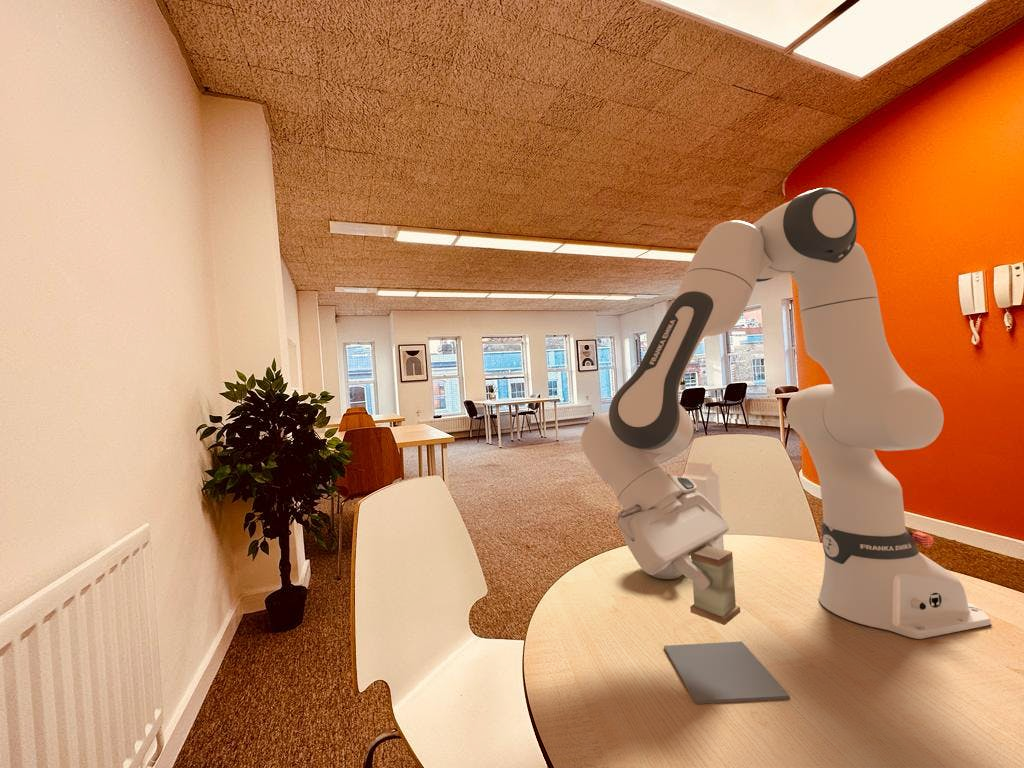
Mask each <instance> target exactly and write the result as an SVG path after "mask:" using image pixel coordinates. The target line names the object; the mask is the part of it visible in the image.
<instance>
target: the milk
mask: <svg viewBox="0 0 1024 768" xmlns="http://www.w3.org/2000/svg"><path fill="white" fill-rule="evenodd" d="M681 477H686V478H690V479H691V480H693V481H694V483H695V484H696V485H697V489H696V490H695V491H697V492H699V493H701V494H703V495H704V496H705V497H706V498H707V499H708V500H709V501H710V502H711V503H712V504H713V506H714V507H715V508H716V509H717V510H718V511H719V513H720V514H721V515H722V503H721V492H720V478H719V475H718V474H717V473H715V471H714V470H712V464H711V463H705V462H695V461H694V462H692V461H688V462H687V468H686V470H685V471H684V473H683V474H682V476H681ZM715 542H716V543H717V544H718V546H719V548H720V549H723V550H725V544H724V543H725V542H724V535H723V536H722V537H720V538H719V539H718V540H716V541H715ZM689 556H691V555H689Z"/></svg>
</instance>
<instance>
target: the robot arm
mask: <svg viewBox="0 0 1024 768" xmlns="http://www.w3.org/2000/svg"><path fill="white" fill-rule="evenodd" d="M857 219H858V218H857V213H856V209H855V206H854V204H853V202H852V201H851V200H850V198H849V197H848V196H847V195H845V194H844V193H843V192H842V191H840V190H838V189H835V188H833V187H819V188H816V189H813V190H808V191H805V192H803V193H801V194H799V195H797V196H796V197H794V198H793V199H791V200H790V201H787V202H785V203H783V204H781V205H779V206H777V207H775V208H773V209H771V210H770V211H768V212H767V213H765V214H764V215H763V216H762V217H760V218H759V219H758V220H756V221H754V222H753V223H749V222H746V221H742V220H729V221H728V220H727V221H724V222H721V223H718V224H716V225H714V227H712V228H711V229H710V230H709V232H707V234H706V236H705V237H704V238H703V239H702V241H701V243H700V244H699V246H698V248H697V249H696V252H695V254H694V255H693V257H692V258H691V261H690V263H689V265H688V267H687V269H686V272H685V273H684V275H683V279H682V281H681V284H680V286H679V289H678V290H677V293H676V295H675V298H674V300H673V302H672V303H671V305H670V307H669V308H668V309H667V311H666V312H665V315H664V316H663V318H662V320H661V322H660V324H659V326H658V328H657V330H656V332H655V334H654V336H653V337H652V340H651V342H650V344H649V346H648V349H646V352H645V354H644V356H643V358H642V360H641V362H640V364H639V365H638V367H637V369H636V370H635V372H634V373H633V375H631V376H630V378H628V380H627V381H626V382H625V383H624V384H623V385H622V386H621V387H620V388H619V389H618V390H617V392H616V393H615V395H614V397H612V400H611V402H610V405H609V408H608V413H606V412H605V413H601V414H598V415H596V416H595V417H594V418H592V419H591V420H589V422H588V423H587V424H586V425H585V427H584V429H583V430H582V433H581V436H580V446H581V448H582V451H583V454H584V455H585V457H586V459H587V460H588V461H589V464H590V465H591V466H592V468H593V469H594V471H595V473H596V474H597V475H598V476H599V478H600V479H601V480H602V482H604V483H605V484H607V485H608V486H609V487H610V488H611V490H612V492H613V493H614V496H615V499H616V500H617V502H618V503H619V505H621V507H622V508H623V510H620V511H618V512H617V515H616V525H617V527H618V529H619V530H620V531H621V534H622V537H623V540H624V542H625V543H626V546H627V547H628V549H629V551H630V552H631V554H632V556H633V557H634V559H635V561H636V562H637V564H638V566H639V567H640V568H641V570H642V571H644V572H645V573H646V574H648V575H650V576H651V575H654V574H656V573H658V572H660V571H661V570H663V569H665V568H667V567H669V566H671V565H672V564H673V565H674V566H675V567H676V569H677V570H678V571H679V572H680V573H682V576H685V577H687V578H688V579H690V580H691V581H692V582H693V581H694V583H695V584H696V585H697V587H698V588H699V589H700V590H704V589H705V588H707V587H708V586H710V585H711V584H712V583H713V579H712V578H711V577H710V576H709V574H708V573H707V572H706V570H704V571H703V572H702V571H701V570H700V569H699V568H697V567H696V566H695V565H694V564H692V562H691V561H692V559H691V558H690V557H689V555H691V552H693V551H695V550H696V549H698V548H700V547H702V546H704V545H707V546H711V547H715V548H719V546H718V544H717V543H716V542H715V541H716V540H718V539H719V538H720V537H722V536H723V537H724V536H725V534H727V533H728V532H729V530H730V528H729V525H728V522H727V520H726V518H725V517H724V516H723V515H722V513H721V514H720V513H719V511H718V510H717V509H716V508H715V507H714V506H713V504H712V503H711V502H710V501H709V500H708V499H707V498H706V497H705V496H704V495H703V494H701V493H699V492H697V491H695V490H696V489H697V485H696V484H695V483H694V481H693V480H691V479H690V478H686V477H682V476H678V475H675V474H671V473H666V472H665V471H664V469H662V467H661V466H660V465H661V464H663V463H665V462H666V461H668V460H670V459H672V458H674V457H675V456H677V455H679V454H680V453H682V452H684V451H685V450H686V449H687V448H688V447H689V445H690V444H691V442H692V440H693V438H694V434H695V426H694V422H693V419H692V417H691V416H690V414H689V413H688V411H687V410H686V409H685V407H683V405H681V404H680V399H679V398H680V397H679V393H680V392H679V390H680V386H681V382H682V380H683V378H684V376H685V374H686V372H687V370H688V367H689V365H690V364H691V361H692V360H693V358H694V355H695V354H696V351H697V349H698V346H699V345H700V343H701V341H702V340H703V339H704V338H705V337H707V336H708V337H712V336H714V337H715V336H717V335H718V336H719V335H722V334H724V333H727V332H729V331H731V330H732V329H733V328H734V327H735V326H736V325H737V323H739V320H740V319H741V317H742V316H743V314H744V313H745V310H746V308H747V306H748V303H749V302H750V299H751V296H752V294H753V291H754V288H755V286H756V283H758V282H761V283H762V282H765V281H769V280H771V279H774V278H778V277H780V276H784V275H787V274H789V275H790V276H791V277H792V279H793V280H794V281H795V283H796V285H797V292H798V293H797V294H798V306H799V313H800V320H801V328H802V334H803V335H802V336H803V341H804V348H805V352H806V354H807V355H808V357H809V358H810V359H812V360H813V361H815V362H816V363H818V364H819V365H820V367H822V368H823V370H824V371H825V373H826V375H827V376H828V378H829V381H830V382H831V383H828V384H827V383H824V384H818V385H814V386H810V387H807V388H804V389H801V390H799V391H797V392H795V393H794V394H793V395H792V396H791V397H790V399H789V400H788V402H787V405H786V408H785V409H786V410H785V414H786V415H785V416H786V419H787V422H788V425H789V426H790V427H791V428H792V430H794V431H795V433H796V434H797V435H798V436H800V438H801V440H802V441H803V443H804V444H805V446H806V448H807V451H808V454H809V455H810V457H811V460H812V463H813V465H814V468H815V471H816V473H817V477H818V482H819V486H820V496H821V504H822V505H821V507H822V515H823V516H822V517H823V520H822V521H821V523H820V526H821V542H822V548H823V552H824V566H823V567H824V569H823V576H822V577H823V578H822V584H821V587H820V588H821V589H820V591H819V595H818V601H819V602H820V604H821V605H822V606H823V607H824V608H825V609H827V611H830V612H832V613H833V614H835V615H836V616H839V617H841V618H844V619H846V620H848V621H851V622H854V623H857V624H861V625H864V626H868V627H872V628H876V629H881V630H887V631H890V632H894V633H896V634H899V635H902V636H905V637H908V638H911V639H918V640H922V639H926V638H932V637H937V636H941V635H946V634H947V635H948V634H951V633H956V632H961V631H967V630H971V629H976V628H982V627H985V626H989V625H992V622H991V618H990V616H989V615H988V614H987V613H986V612H984V610H982V609H980V608H979V607H978V606H976V605H974V604H973V603H971V602H969V601H968V599H967V598H968V597H967V593H966V591H965V588H964V585H963V584H962V582H961V580H960V579H959V577H957V576H956V575H955V574H953V573H952V572H951V571H949V570H947V569H946V568H945V567H943V566H941V565H940V564H938V563H936V562H935V561H933V560H932V559H930V557H928V556H926V555H925V554H923V553H921V552H920V551H919V548H918V547H917V545H916V544H919V545H921V546H923V547H925V548H930V547H932V546H933V545H934V541H935V540H934V537H932V535H930V534H927V533H923V532H921V531H914V532H913V531H912V530H910V529H907V528H906V522H905V521H906V520H905V507H904V497H903V495H904V494H903V487H902V486H901V483H900V481H899V480H898V478H896V477H895V476H894V474H893V473H891V472H890V471H889V470H887V469H886V467H885V466H884V465H883V464H882V462H881V461H880V460H879V458H878V455H877V454H876V452H875V450H877V451H882V452H883V451H885V452H895V451H908V450H909V451H910V450H920V449H923V448H925V447H927V446H929V445H931V444H932V443H933V442H934V441H936V439H937V438H938V437H939V436H940V434H941V432H942V430H943V427H944V421H945V416H944V411H943V408H942V405H941V404H940V402H939V400H938V399H937V397H936V396H935V395H933V394H932V393H931V392H930V391H929V390H927V389H925V388H923V387H921V386H920V385H918V384H917V383H916V382H915V381H913V380H912V379H911V378H910V377H909V376H908V375H907V374H906V371H904V370H903V368H902V367H901V366H900V365H899V363H898V361H897V359H896V358H895V357H894V355H893V353H892V350H891V348H890V347H889V343H888V341H887V337H886V333H885V328H884V322H883V318H882V311H881V307H880V300H879V295H878V288H877V283H876V280H875V279H876V278H875V276H874V272H873V269H872V267H871V264H870V261H869V259H868V256H867V253H866V251H865V249H864V248H863V246H861V245H860V244H859V243H857V242H856V240H857V232H858V231H857V228H858V220H857ZM719 549H720V548H719Z"/></svg>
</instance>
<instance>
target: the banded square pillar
mask: <svg viewBox="0 0 1024 768" xmlns="http://www.w3.org/2000/svg"><path fill="white" fill-rule="evenodd" d="M691 559H692V561H691V563H692V564H694V565H695V566H696V567H697V568H699V569H700V570H701V571H702V572H703V571H704V570H706V572H707V573H708V574H709V576H710V577H711V578H712V579H713V583H712V584H711V585H710V586H708V587H707V588H705V589H704V590H700V589H699V588H698V587H697V585H696V584H695V583H694V581H693V580H692V590H693V604H692V605H690V608H689V609H690V613H691V614H693V615H694V614H695V615H697V616H698V617H702V618H704V619H707V620H710V621H712V622H715V623H717V624H721V625H723V626H725V625H726V624H728V623H729V622H730V621H732V620H733V619H734V618H736V617H737V616H738V615H739V614H740V613H741V606H739V605H737V604H736V603H737V601H736V592H735V591H736V589H735V586H736V585H735V572H734V561H733V560H734V557H733V551H730V550H726V549H724V550H723V549H719V548H715V547H711V546H707V545H704V546H702V547H700V548H698V549H696V550H695V551H693V552H691Z"/></svg>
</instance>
